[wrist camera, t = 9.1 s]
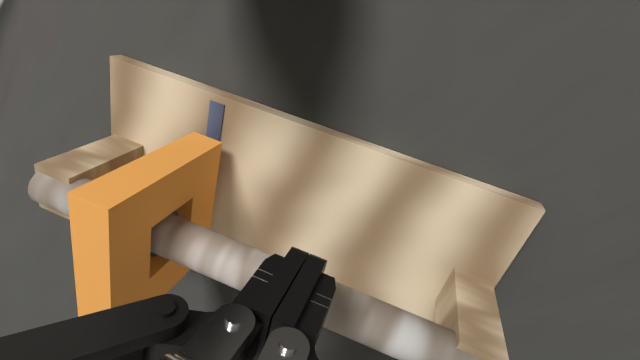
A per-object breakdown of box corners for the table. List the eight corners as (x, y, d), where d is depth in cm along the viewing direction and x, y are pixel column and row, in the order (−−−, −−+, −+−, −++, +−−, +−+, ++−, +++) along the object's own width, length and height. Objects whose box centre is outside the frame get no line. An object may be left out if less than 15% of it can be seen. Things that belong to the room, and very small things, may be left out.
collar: (222, 142, 23) (108, 209, 15) (207, 251, 27) (111, 349, 19) (194, 131, 23) (67, 192, 15) (183, 241, 27) (79, 333, 19)
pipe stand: (540, 202, 21) (594, 299, 14) (441, 356, 27) (442, 475, 20) (121, 54, 24) (-5, 70, 18) (122, 220, 31) (30, 279, 24)
